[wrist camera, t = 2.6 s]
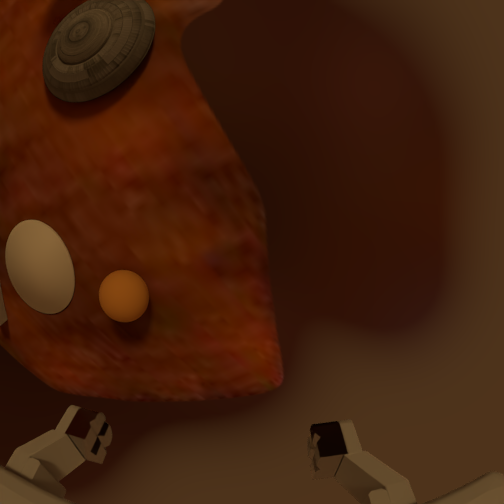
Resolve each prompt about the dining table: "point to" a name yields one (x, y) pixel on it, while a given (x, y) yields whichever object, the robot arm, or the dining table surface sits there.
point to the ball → (124, 296)
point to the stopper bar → (2, 309)
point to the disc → (40, 266)
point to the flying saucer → (97, 48)
